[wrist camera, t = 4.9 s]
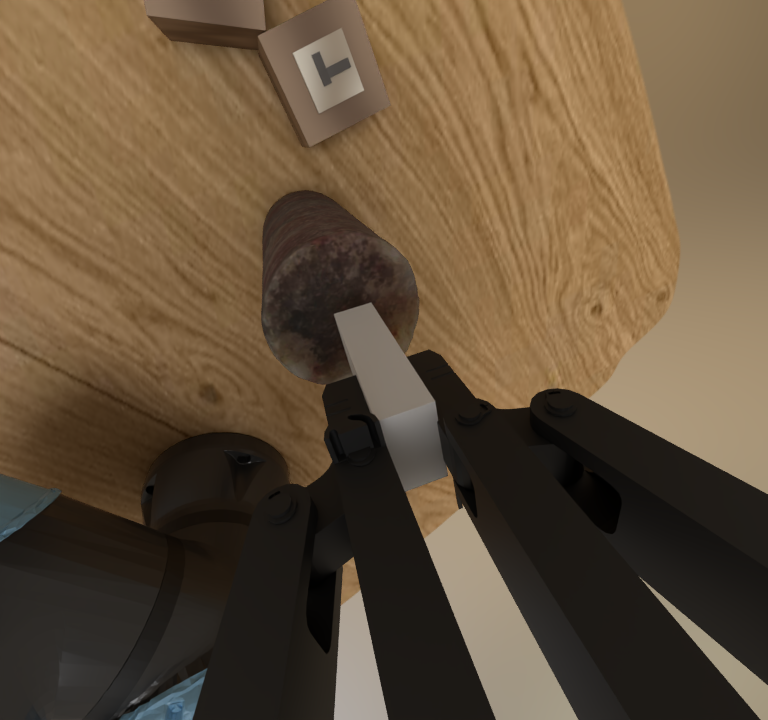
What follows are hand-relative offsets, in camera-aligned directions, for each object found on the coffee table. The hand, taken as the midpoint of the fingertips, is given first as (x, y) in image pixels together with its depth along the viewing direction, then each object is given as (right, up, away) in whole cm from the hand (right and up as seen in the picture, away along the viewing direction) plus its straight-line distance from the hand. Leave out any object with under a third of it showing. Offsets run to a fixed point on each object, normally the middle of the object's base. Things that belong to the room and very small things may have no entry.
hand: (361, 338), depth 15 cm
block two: (-4, +20, +13) cm, 24 cm away
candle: (-6, +10, +18) cm, 22 cm away
